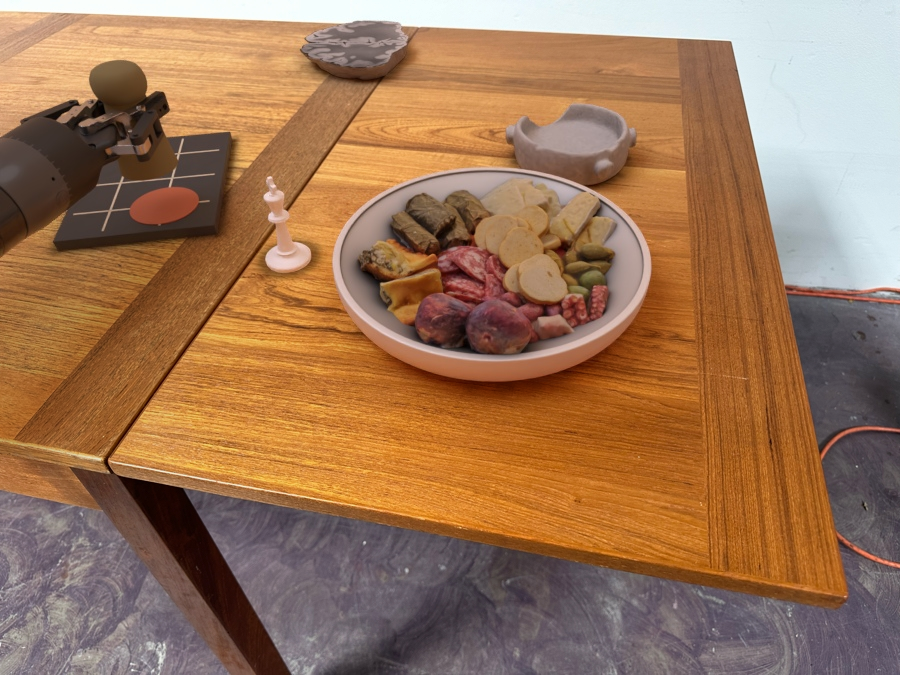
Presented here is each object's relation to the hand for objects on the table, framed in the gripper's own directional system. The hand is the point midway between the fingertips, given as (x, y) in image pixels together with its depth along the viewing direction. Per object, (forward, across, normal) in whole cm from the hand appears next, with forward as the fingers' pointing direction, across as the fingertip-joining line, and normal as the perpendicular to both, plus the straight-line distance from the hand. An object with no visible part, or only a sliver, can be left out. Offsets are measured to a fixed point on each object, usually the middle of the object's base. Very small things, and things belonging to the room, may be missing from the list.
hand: (144, 98), depth 70 cm
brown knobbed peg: (-3, 0, +7) cm, 7 cm away
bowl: (-5, -39, +13) cm, 41 cm away
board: (+2, +5, +13) cm, 14 cm away
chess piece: (-7, -17, +13) cm, 23 cm away
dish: (+21, -43, +13) cm, 50 cm away
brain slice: (+45, -4, +13) cm, 47 cm away
